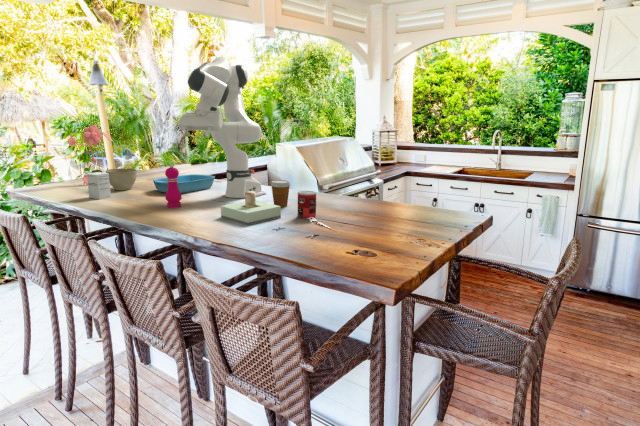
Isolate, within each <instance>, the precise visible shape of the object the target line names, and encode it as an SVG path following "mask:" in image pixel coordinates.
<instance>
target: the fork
mask: <svg viewBox="0 0 640 426" xmlns="http://www.w3.org/2000/svg"><path fill="white" fill-rule="evenodd" d="M310 218H311V217H310ZM310 218H309V219H308V220H309V222H310V223H311V222H312V221H318V220H317V219H316V217H315V218H314V217H313V218H312V219H310ZM319 224H320V226H321V225H323V226H325V227H328V228H331V227H330V226H327V225H326V224H324V223H323V222H319V221H318V223H317V224H316V225H319ZM323 226H322V227H323ZM325 227H324V228H325ZM328 228H327V229H328Z"/></svg>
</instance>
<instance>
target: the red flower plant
mask: <svg viewBox="0 0 640 426" xmlns="http://www.w3.org/2000/svg"><path fill="white" fill-rule="evenodd" d="M83 130H84V133H83V135H82V136H83V142H84V143H86V144H84V145H82V146H80V144H78V143H77V141H76V139H75V137H73V136H70V137H69V138H68V139H67V143H68V145H69V146H70V147H71V148H73V147H74V146H75V145H77V146H78V148H83V147H86V146H89V148H90V152H91V154H92V157H91V158H90V161H88V162H86V163H83V169H84V175H83V176H82V181H83V185H86V186H87V187H88V181H87V173H86V167H85V165H87V164H88V163H90V162H92V163H95V162H97V163H98V167H99V168H98V169H99V170H101V164H100V161H97V159H96V157H95V156H94V153H93V149H92V147H96V146H99V144H101V143H102V137H103V136H104V137H105V138H106V139H107V140H108V141H111V142H113V143H114V140H113V138H111V136H109V135H108V134H107V133H105V132H102V129H101V128H99V129H98V125H96V124H94V125H90V124H89V126H88V127H84V129H83ZM73 186H75V184H74V185H73Z"/></svg>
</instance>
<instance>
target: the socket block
mask: <svg viewBox="0 0 640 426" xmlns="http://www.w3.org/2000/svg"><path fill="white" fill-rule="evenodd" d="M281 209H282V207H281V206H277V205H274V203H273V204H272V203H268V202H265V201H258V200H256V207H255V208H246V207H245V201H242V202H236V203H229V204H225V205H220V218H221V219H226V220H229V221H232V222H236V223H238V224H239V223H240V224H243V225H246V226H251V225H254V224H259V223H264V222H267V221H273V220H276V219H279V218H280V219H281V218H282V217H281V215H282V214H281V213H282V212H281Z"/></svg>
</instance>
